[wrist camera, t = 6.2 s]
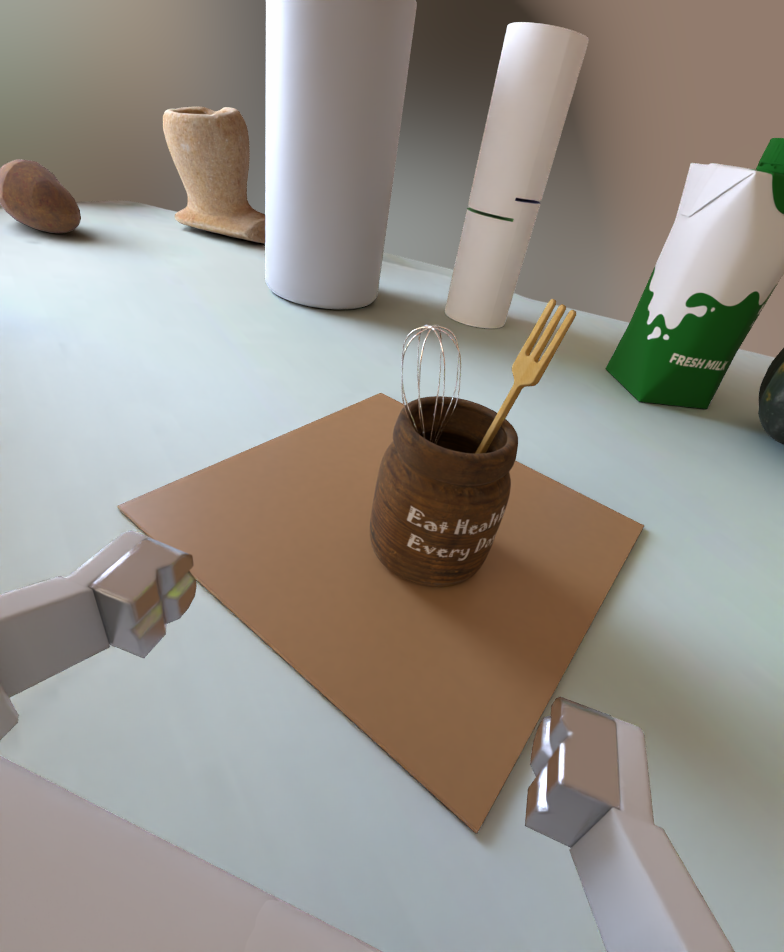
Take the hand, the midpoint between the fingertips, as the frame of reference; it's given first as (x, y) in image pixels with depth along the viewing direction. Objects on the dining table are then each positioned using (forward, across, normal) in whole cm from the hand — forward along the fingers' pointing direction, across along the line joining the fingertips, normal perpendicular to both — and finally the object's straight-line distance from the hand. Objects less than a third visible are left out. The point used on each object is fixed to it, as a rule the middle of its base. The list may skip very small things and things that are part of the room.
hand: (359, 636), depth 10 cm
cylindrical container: (+52, +5, +8) cm, 53 cm away
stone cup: (+60, +44, +8) cm, 74 cm away
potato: (+42, +57, +8) cm, 72 cm away
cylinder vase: (+46, +22, +8) cm, 52 cm away
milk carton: (+44, -14, +8) cm, 47 cm away
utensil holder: (+12, 0, +8) cm, 14 cm away
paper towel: (+13, +2, +8) cm, 16 cm away
